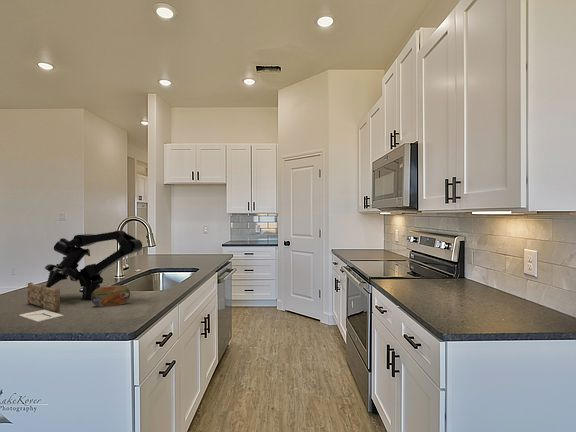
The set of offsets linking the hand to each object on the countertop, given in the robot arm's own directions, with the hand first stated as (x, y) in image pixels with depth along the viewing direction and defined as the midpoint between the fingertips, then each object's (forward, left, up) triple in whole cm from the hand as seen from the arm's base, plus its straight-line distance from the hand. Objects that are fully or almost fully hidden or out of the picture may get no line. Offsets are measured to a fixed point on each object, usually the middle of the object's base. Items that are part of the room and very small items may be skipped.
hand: (47, 287), depth 150 cm
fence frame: (-9, +8, -7) cm, 14 cm away
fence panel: (+2, +4, -6) cm, 8 cm away
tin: (-28, -4, -7) cm, 29 cm away
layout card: (-13, +16, -7) cm, 22 cm away
